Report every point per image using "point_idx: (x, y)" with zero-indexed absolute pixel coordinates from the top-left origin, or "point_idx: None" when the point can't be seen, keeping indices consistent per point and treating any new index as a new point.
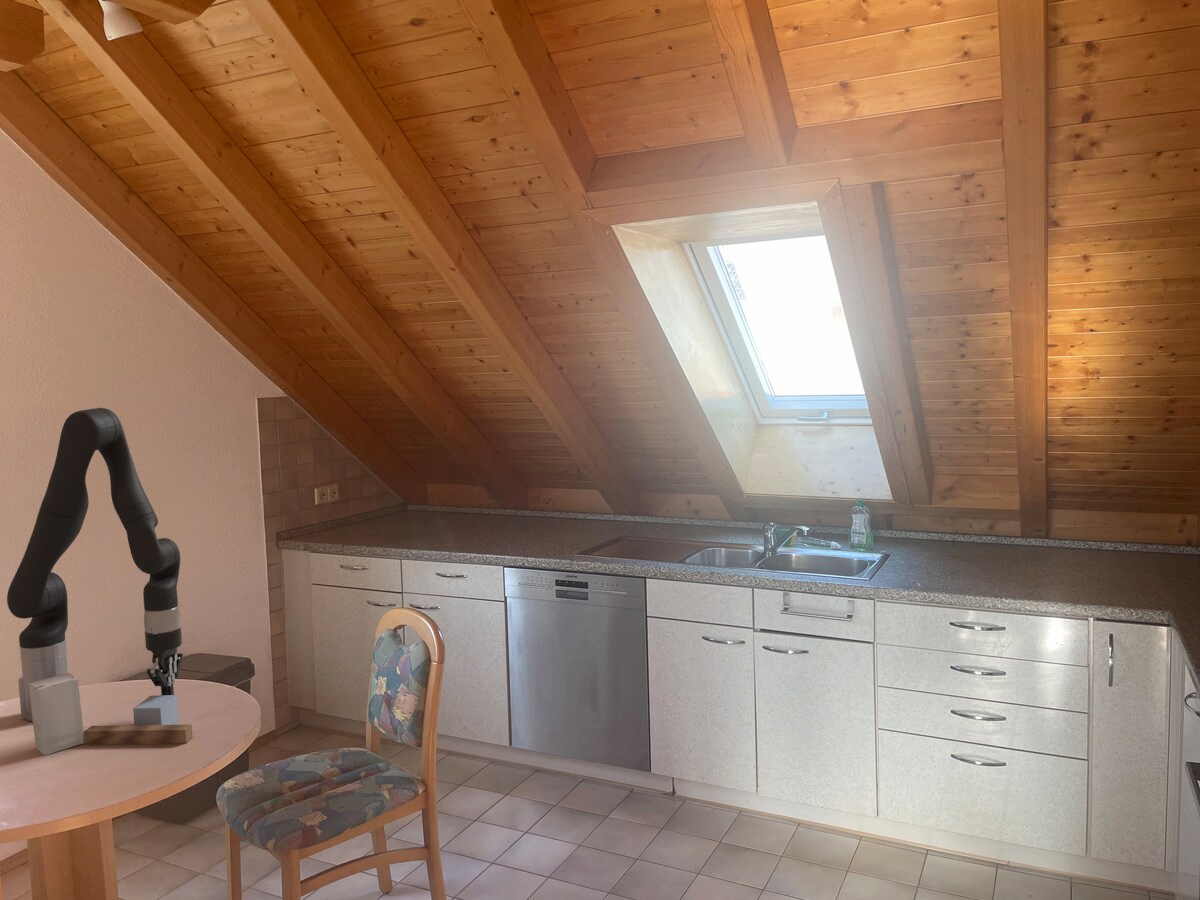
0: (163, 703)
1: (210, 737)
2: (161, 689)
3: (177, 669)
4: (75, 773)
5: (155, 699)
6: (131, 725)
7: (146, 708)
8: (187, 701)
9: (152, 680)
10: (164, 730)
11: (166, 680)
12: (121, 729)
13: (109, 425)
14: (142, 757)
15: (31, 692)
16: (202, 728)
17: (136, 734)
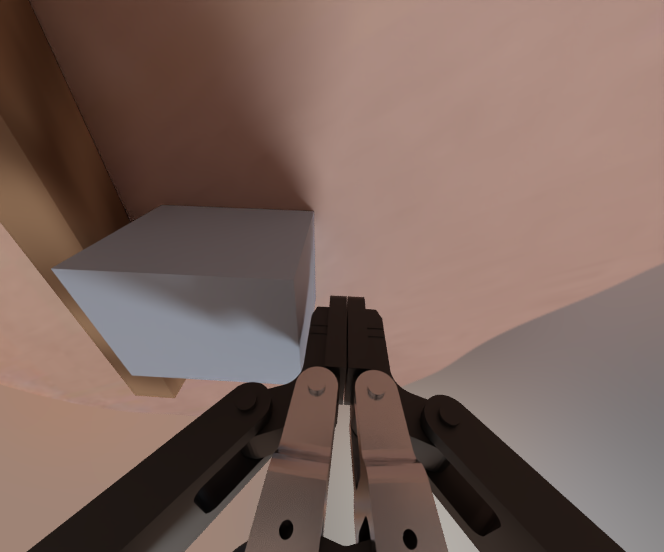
0: (183, 371)
1: (208, 388)
2: (305, 359)
3: (452, 512)
4: None
5: (227, 328)
6: (73, 239)
7: (99, 328)
8: (537, 262)
9: (148, 462)
10: (106, 356)
11: (258, 465)
12: (9, 213)
13: None
14: (33, 302)
15: None
16: None
17: None
